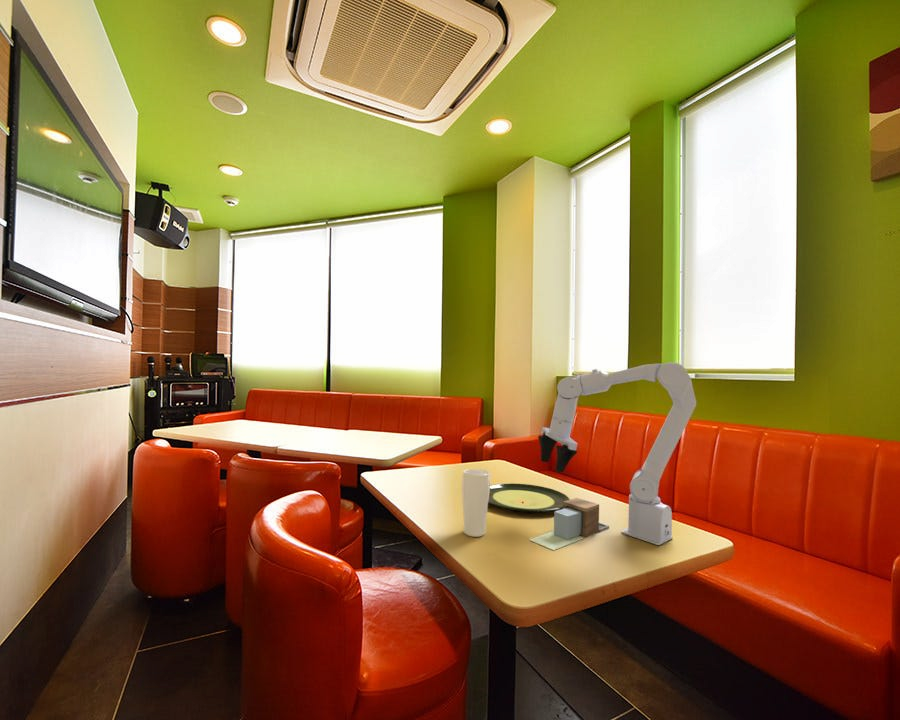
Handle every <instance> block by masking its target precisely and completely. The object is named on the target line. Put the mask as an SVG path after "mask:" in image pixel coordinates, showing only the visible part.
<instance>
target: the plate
mask: <svg viewBox="0 0 900 720" xmlns="http://www.w3.org/2000/svg"><path fill="white" fill-rule="evenodd" d="M518 498H522V499H527V500H530V501H531V502H530V503H527V504H522V503H518V502H515V501H514V500H515V499H518ZM567 500H571V498H569V496H568V495H566V494H565V493H563V492H560V491H558V490H555V489H553V488H549V487H545V486H540V485H535V484H527V483H497V484H496V483H495V484H490V491H489V500H488V504H490V505H492V506H495V507H498V508H500V509H503V510H509V511H514V512H521V513H522V512H523V513H549V512H555V511H558V510H561V509H563V502H564V501H567Z"/></svg>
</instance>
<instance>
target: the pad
mask: <svg viewBox="0 0 900 720" xmlns="http://www.w3.org/2000/svg"><path fill="white" fill-rule="evenodd" d="M584 538H585V537H583V536H580V535H578V536H576V537H573V538H570V539H568V540H567V539H565V538H562V537H560V536H557V535H554V530H553V531H550V532H546V533H544V534H540V535H539V536H536V537H532V538H530V539H528V540H529V541H530V542H532V543H535V544H537V545H539V546H541V547H544V548H546V549H549V550H551V551H553V552H554V551H556V549H557V550H559V549H562V548H564V547H566V545H567V546H569V545H571V544H572V545H573V544H574V543H576V541H577V542H579V541H582V540H584ZM581 539H582V540H581Z"/></svg>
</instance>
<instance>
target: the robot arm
mask: <svg viewBox="0 0 900 720" xmlns="http://www.w3.org/2000/svg"><path fill="white" fill-rule="evenodd" d="M641 380H645V381H649V382H654V383H655V382H657V380H658V382H659V384H661V386H662V387H663V388H664V389H665V390H666V391H667V392H668V395H669V396H670V397H669V398H671V401H672V403H673V404H672V407H671V408H670V410H669V412H668V414H667V416H666V418H665V421H664V422H663V425H662V427H661V428H660V430H659V433H658V434H657V437H656V438H655V441H654V443H653V445H652V447H651V449H650V451H649V452H648V454H647V457H646V459H645V460H644V463H643V465H642V467H641V468H640V469H639V470H637V471H636V472H635V473H634V474H633V476H632V480H631V481H630V483H629V490H630V491H629V492H630V494H628V521H627V522H628V525H627V526H628V527H627V528H625V529H623V530H621V531H620V532H621V534H624V535H627V536H629V537H633V538H635V539H638V540H642V541H645V542H648V543H651V544H653V545H657V546H661V545H662V544H665V543H666V542H668V541H669V540H672V539H673V536H672V530H673V529H672V528H673V527H672V525H673V523H672V522H673V521H672V520H673V513H672V507H671V506H669V505H667V504H664V503H663V502H661V498H660V497H659V496H658V495H659V487H660V480H661V478H662V476H663V473H664V470H665V468H666V467H667V464H668V462H669V461H670V458H671V457H672V455H673V453H674V451H675V449H676V446H677V444H678V443H679V440H680V438H681V436H682V435H683V433H684V430H685V428H686V427H687V425H688V422H689V421H690V418H691V416H692V415H693V412H694V411H695V408H696V406H697V399H696V395H695V392H694V386H693V382H692V377H691V376H690V375H689V373H688V371H687V370H686V368H685V367H684V366H683V365H682V364H680V363H678V362H676V361H675V362H674V361H670V362H669V361H668V362H666V363H663V364H662V363H652V364H651V363H649V364H643V365H638V366H636V367H630V368H626V369H623V370H619V371H613V372H611V373H608V372H606V371H605V370H603V369H600V370H599V369H597V368H594V369H592V370H591V372H587V373H583V374H579V373H575V374H574V377H572V376H566V377H564V378H562V379H560V380H559V382H558V383H557V385H556V388H557V392H558V393H557V397H556V400H555V403H554V408H553V412H552V413H553V414H552V417H551V421H550V425H549V427H541V433H540V434H541V435H538V437H537V438H538V441H539V446H540V462H542V463H549V461H550V459H551V457H552V453H553V450H554V448H556V449H555V450H556V464H555V472H557V473H564V472H565V469H566V468H567V465H568V464H569V463H570V461H571V460H572V459H573V458H574V456H575V455H576V454H578V450H577V447H578V444H579V443H578V442H576V441H575V440H574V439H573V438H571V437H570V436H571V432H572V428H573V424H574V419H575V415H576V412H577V411H576V410H577V408H578V407H577V405H578V399H579V397H580V395H581V396H587V395H588V396H589V395H593V394H598V393H603V392H608V391H609V389H610V388H611V386H613V385H618V384H623V383H628V382H635V381H641ZM558 443H559V444H561V445H556V444H558Z"/></svg>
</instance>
